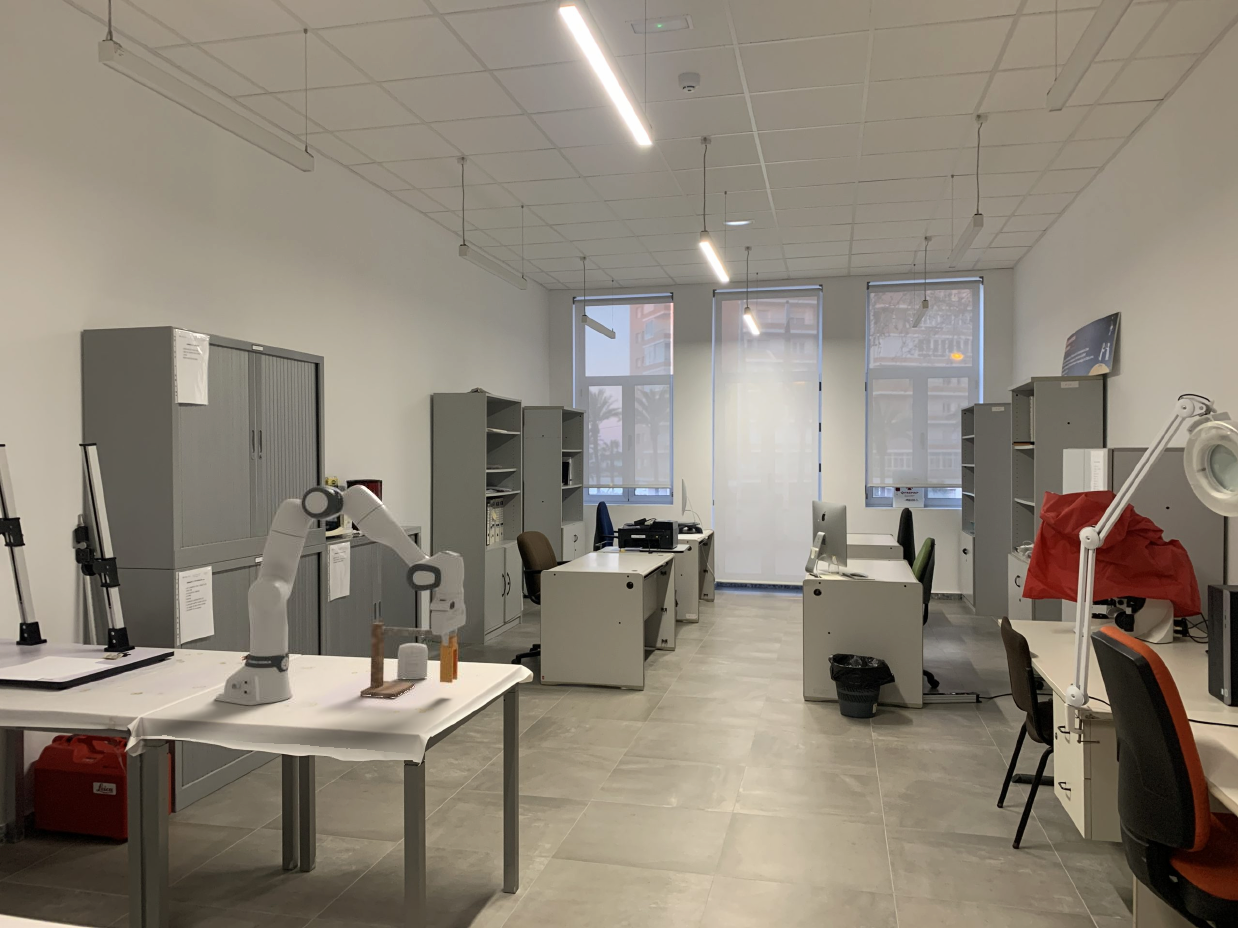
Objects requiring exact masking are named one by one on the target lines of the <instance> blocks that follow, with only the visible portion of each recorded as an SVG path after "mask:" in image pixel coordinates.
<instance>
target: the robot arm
mask: <svg viewBox="0 0 1238 928" xmlns="http://www.w3.org/2000/svg"><path fill="white" fill-rule="evenodd" d="M341 515H344V516H346V517H347V518H349V520H351V521H352V523H353V524H354V525H355V526H356V527H357V528H358V530H359V531H360V532H361V533H362V534H363V535H364V536H365V537H367V538H368V539H370V540H371V541H372V542H376V543H381V544H383V545H386V546H388V547H390V548H392V549H393V550H394V551H395V552H396V553H397V554H398V555H399V557H401V559H403V561H404V562H405V563H406V564H407V565H408V566H409V568H408V569H407V572H406V575H405V576H406V577H405V580H406V583H407V585H408V587H410V589H412V590H413V591H415V592H416V591H417V592H421V593H422V592H427V591H430V590H435V597H434V599H433V600H432V601H431V603H430V605H429V610H430V611H431V613H430V629H431V630H432V633H433V634H434V635H437V636H441V640H442V639H443V645H444V646H448V645H449V644H450V639H449V636H457V633H458V629H459V628H460V627H463V626H464V625H466V622H467V612H466V603H465V602H464V599H465V590H464V586H463V585H464V580H465V565H464V559H463V556H462V555H461V554H460V553H458V552H457V551H456V552H455V551H450V550H441V551H439V552H438V553H436V554H434V555H433V556H430V555H428V554H426V552H424V551H423V550H422V549H421V548H420V547H419V545H417V543H415V541H414V540H413V539H412V538H411V537H410V536H409V535H408V534H407V533H406V532H405V530H404V529H403V528H402V526H401V525H400V523H399V522H398V521H397V520H396V518H395V517H394V515H393V514H392V513H391V511H390V510H389V508H388V507H387V506H386V505H385V503H383V501H382V500H381V499H379V497H378V496H377V495H376V494H375V493H374V492H372V491H371V490H370V489H368V488H367V487H366V486H364V485H361V484H356V485H353V486H352V485H351V486H350V487H349V488H347V489H346V490H344V491H342V490H341V489H340V488H339V487H336V486H331V485H326V484H325V485H324V484H323V485H316V486H313V487H310V488H309V489H307V491H306V492H304V494H303V495H302V497H301V499H298V498H288V499H285V500H284V501H283V502H282V503H281V504H280V506H279V507H278V509H277V511H276V514H275V515H274V518H273V521H272V523H271V526H270V529H269V533H268V535H267V538H266V542H265V545H264V549H263V551H262V558H261V562H260V563H261V564H260V566H259V567H260V568H259V572H258V575H257V576H258V577H257V579H256V580H255V581H254V582H253V583H252V584H251V585H250V587H249V589H248V592H247V602H248V603H247V604H248V605H247V606H248V607H247V608H248V618H249V620H248V621H249V626H250V628H249V629H250V635H249V639H250V640H249V653H248V654H246V655H244V656H242V657H241V658H242V659H241V661H245V662H244V665H243V666H242V667H240V668H239V669H238V670H236V671H235V672H234V673H232V674H231V675H230V676H229V677H228V678H227V679H226V681H225V684H224V689H223V691H222V692H220V693H218V694H217V695H216V696H215V701H218V702H225V703H230V704H231V703H232V704H238V705H243V706H244V705H246V706H255V705H260V704H268V703H269V704H270V703H276V702H281V701H284V700H287V699H290V698H291V697H293V693H292V690H291V685H290V677H289V666H290V652H289V649H288V648H289V624H288V612H287V611H288V609H287V608H288V607H287V600H289V598H290V597H291V593H292V591H293V587H294V582H295V579H296V575H297V573H298V572H297V571H298V567H299V562H300V558H301V555H302V552H303V550H304V549H303V548H304V545H305V541H306V539H307V536H308V533H309V529H310V526H311V525H312V523H313V522H314V521H315V520H317V521H318V520H319V521H320V520H322V521H328V520H333V519H335V518H338V517H340V516H341Z"/></svg>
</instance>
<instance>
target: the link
mask: <svg viewBox="0 0 1238 928" xmlns="http://www.w3.org/2000/svg"><path fill="white" fill-rule="evenodd" d="M448 636H449V639H450V644H449V645H448V646H444V645H443V639H442V638H441V646H440V647H439V648H440V649H439V650H440V654H439V655H440V657H439V658H440V659H439V662H440V663H439V682H440V683H448V684H449V683H451V684H452V683H453V682H454V680H458V667H459V666H458V665H459V664H458V660H459V659H458V658H459V656H458V655H459V644H458V636H457V635H456V636H450V635H448Z"/></svg>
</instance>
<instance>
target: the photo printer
mask: <svg viewBox="0 0 1238 928" xmlns="http://www.w3.org/2000/svg"><path fill="white" fill-rule="evenodd" d="M428 652H429V651H428V646H427V645H426V644H423V643H419V642H418V643H417V642H411V643H410V642H407V643H403V644H401V645H399V648H398V650H397V672H396V673H397V675H396V678H398V679H397V680H404V679H403V678H425V677H427V678H428V660H429V659H428V657H429V656H428V654H429V653H428Z"/></svg>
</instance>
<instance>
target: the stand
mask: <svg viewBox="0 0 1238 928" xmlns="http://www.w3.org/2000/svg"><path fill="white" fill-rule="evenodd" d="M385 635H389V636H390V635H392V636H393V635H394V636H396V635H397V636H409V637H410V636H411V637H427V638H429V637H430V638H437V637H438V635H434V634H433V633H432V630H431V628H415V627H413V628H411V627H397V626H396V627H395V626H385V622H377V621H376V622H374V623H372V624H371V641H370V642H371V644H370V647H371V649H370V686H369V687H366V688H365V689H362V690H360V695H371V696H383V697H397V696H398V695H400V694H401V693H404V692H405V691H407V690H409V689H410V688H412V687H413V686H414V687H415V682H405V681H404V682H403V681H392V680H391V681H389V680H384V670H385V669H384V668H385V667H384V665H385V664H384V663H385V662H384V661H385ZM409 691H410V690H409ZM407 692H408V691H407ZM404 694H405V693H404ZM400 696H401V695H400ZM397 698H398V697H397Z"/></svg>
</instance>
